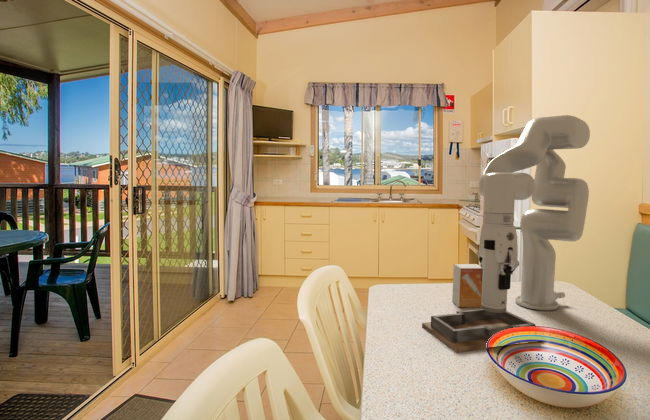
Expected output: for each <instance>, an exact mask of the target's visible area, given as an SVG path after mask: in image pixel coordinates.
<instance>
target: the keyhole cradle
mask: <svg viewBox="0 0 650 420" xmlns="http://www.w3.org/2000/svg"><path fill="white" fill-rule="evenodd" d="M421 326H422V328H423V329H425V330H426V331H427V332H429V333H430V334H432V335H433V336H434V337H435V338H437V339H438V340H440V341H441V342H443V344H445V345H446V346H448V347H449V348H450V349H451V350H453V351H454V352H456V353H462V352H463V353H464V352H471V351H478V350H485V349H486V343H487V341H488V339H489V338H490V337H491V336H492V335H493V334H495V333H497V332H499V331H501V330H504V329H508V328H513V327H520V326H535V327H536V324H535V323H534V322H531V321H529V320H527V319H524V318H522V317H521V316H518V315H516V314H514V313H512V312H510V311H507V310H506V311H505V312H503V313H492V312H488V311H485V310H483V309H482V308H479V309H468V310H467V309H465V310H458V311H456V313H448V314H438V315H431V316H430V321H429V322H422V323H421Z"/></svg>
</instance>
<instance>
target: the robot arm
mask: <svg viewBox="0 0 650 420" xmlns="http://www.w3.org/2000/svg"><path fill="white" fill-rule="evenodd" d="M590 136H591V130H590V126H589V124H588V123H587V122H586V121H584V120H583V119H581V118H578V117H576V116H574V115H568V114H565V115H564V114H563V115H555V116H542V117H537V118H533V119H531V120H530V121H528V122H527V123H526V125H525V127H524V129H522V132H521V134H520V136H519V138H518V140H517V141H516V143H515V144H514V146H513V147H511V148H509V149H507V150H505V151H503V152H502V153H500V154H498V155H497V156H495V157H494V158H492V160H491V161H489V162H488V164H487V165H486V167H485V168H484V170H483V172H482V174H481V176H480V178H479V182H478V191H479V193H480V195H481V196H482V197H483V212H482V225H481V230H480V234H479V235H480V236H479V237H480V238H479V244H478V245H479V248H478V249H477V251H476V256H477V257H478V262H479V263H480V265H479V266H481V268H482V276H483V251H484V240H495V254H496V262H497V263H499V267H500V272H501V274H499V285H498V288H499V289H500V290H507V291H508V290H510V289H511V280H512V279H511V277H512V275H513V274H514V271H515V270H516V269H517V268H518V267H519V265H520V261H519V260H518V252H519V251H518V249H519V248H518V247H519V246H518V235H517V229H516V225H514V224H515V223H514V222H515V202H516V201H525V200H527V199H530V198H531V202H532V203H533V204H534V205H536V206H538V207H546V208H547V207H548V209H546V208H533V209H528V210H526V211H524V212H523V214H522V215H521V216H520V217H521V218H520V229H521V235H522V259H521V260H522V261H521V263H522V264H521V281H520V283H521V284H520V285H521V286H520V295H519V296H516V297H515V303H516V304H517V305H518V306H521V307H524V308H527V309H531V310H538V311H556V310H558V309H559V306H560V303H558V301H557V300H558V299H564V298H565V297H566V294H565V292H563V291H559V292H557V291H555V275H556V261H557V260H556V257H557V256H556V254H557V253H556V250H555V248H554V246H553V245H552V244H551V242H550V241H552V240H553V241H560V242H561V241H562V242H577V241H579V240H580V239H581V238H582V236H583V233H584V229H585V223H586V217H587V210H588V203H589V196H590V195H589V194H590V191H589V190H590V189H589V185H588V183H587V182H586V181H585V180H584V179H582V178H575V177H572V178H571V177H565V173H566V167H567V166H566V163H565V161H564V160H563V158H562V157H561V156H560V155H559V154H558V153H557V152H556V151H555V150H571V149H572V150H575V149H583V148H584V147H586V146H587V145H588V143H589V141H590V138H591V137H590ZM535 166H536V168H535V174H534V177H533V176H532V175H530V174H529V173H526V172H520V171H524V170H526V169H530V168H532V167H535ZM549 208H550V209H549ZM551 208H559V209H560V208H564V209H567V210H559V209H551ZM549 240H550V241H549ZM505 260H507V262H505ZM504 265H507V267H506V268H504ZM482 276H481V282H482Z"/></svg>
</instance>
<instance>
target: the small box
mask: <svg viewBox="0 0 650 420" xmlns="http://www.w3.org/2000/svg"><path fill="white" fill-rule="evenodd" d="M452 274H453V275H452V276H453V277H452V299H451V301H452V302H453V304H455V305H456V306H457V307H458V308H481V303H482V282H481V276H482V268H481V266H480V265H479V264H477V263H461V264H460V263H459V264H456V263H455V264H453V272H452Z"/></svg>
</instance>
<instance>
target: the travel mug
mask: <svg viewBox="0 0 650 420" xmlns="http://www.w3.org/2000/svg"><path fill="white" fill-rule="evenodd" d="M505 262H507V260H505ZM506 267H507V265H504V268H506ZM499 274H501V272H500V267H499V263H497V262H496V254H495V240H484V251H483V276H482V303H481V307H480V309H483V310H485V311H488V312H492V313H503V312H505V311H507V304H508V303H507V302H508V289H507V290H500V289H499V288H498V285H499Z"/></svg>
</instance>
